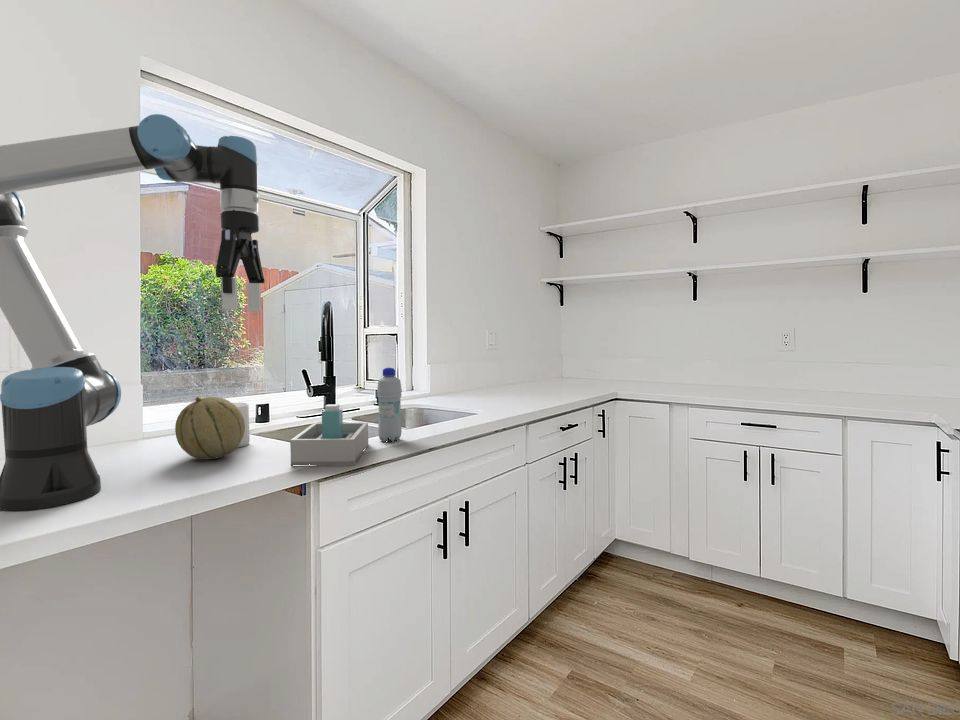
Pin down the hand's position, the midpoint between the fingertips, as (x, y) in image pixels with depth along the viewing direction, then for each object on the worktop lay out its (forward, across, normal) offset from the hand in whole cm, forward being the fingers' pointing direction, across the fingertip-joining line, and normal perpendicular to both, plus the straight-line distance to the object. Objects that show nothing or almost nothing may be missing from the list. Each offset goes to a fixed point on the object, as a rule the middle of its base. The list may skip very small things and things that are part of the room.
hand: (243, 310), depth 116 cm
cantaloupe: (+35, +7, +11) cm, 37 cm away
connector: (+34, +8, -17) cm, 39 cm away
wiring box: (+35, +8, -17) cm, 40 cm away
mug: (+35, +19, +13) cm, 42 cm away
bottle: (+35, +24, -29) cm, 51 cm away
